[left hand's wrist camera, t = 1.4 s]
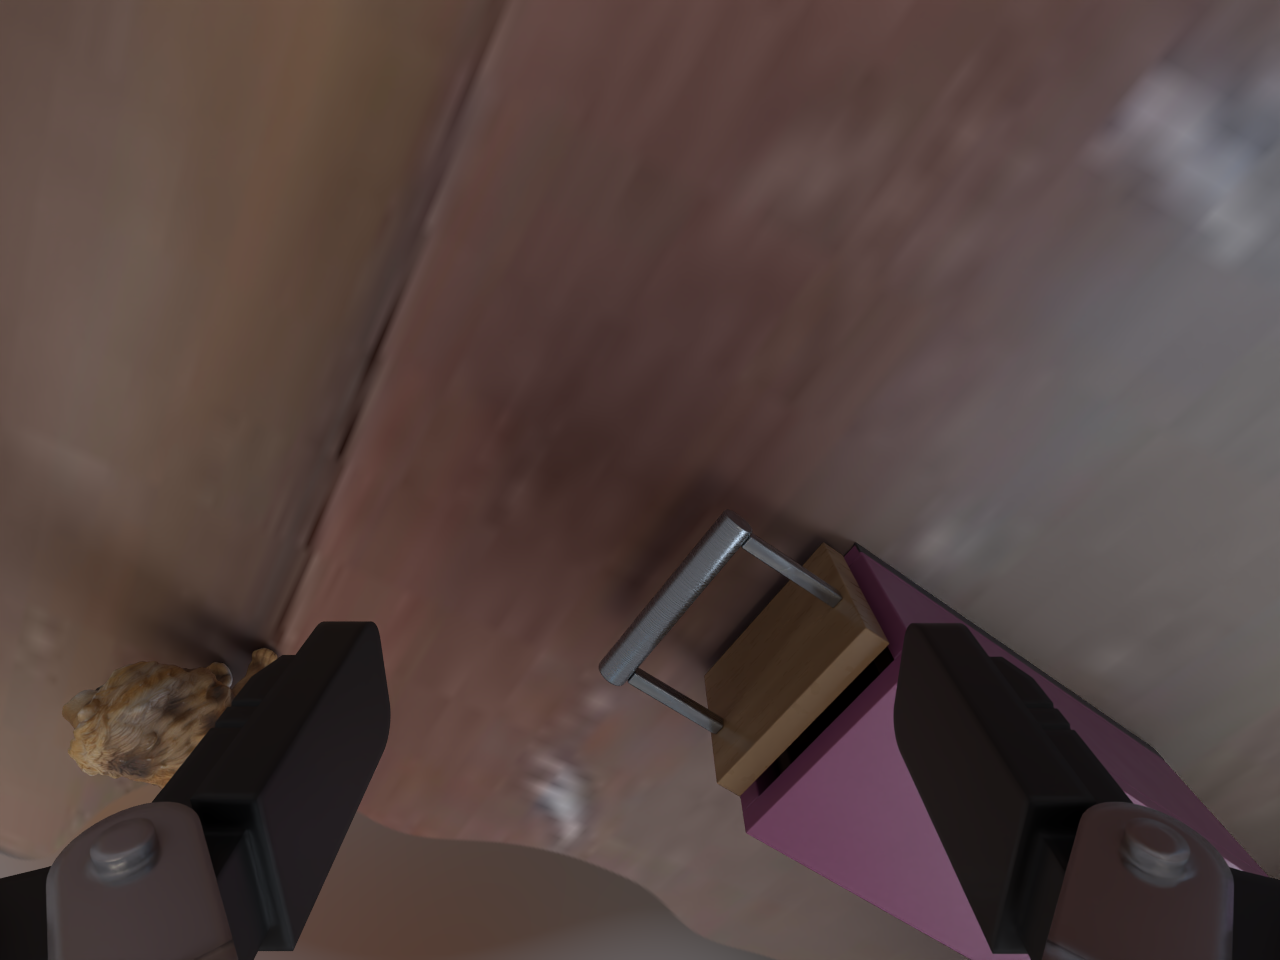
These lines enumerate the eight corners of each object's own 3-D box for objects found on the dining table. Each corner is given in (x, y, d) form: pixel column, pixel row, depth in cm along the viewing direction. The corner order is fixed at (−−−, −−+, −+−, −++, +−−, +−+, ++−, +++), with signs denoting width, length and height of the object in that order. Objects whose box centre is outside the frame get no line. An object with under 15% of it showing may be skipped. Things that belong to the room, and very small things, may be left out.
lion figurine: (147, 607, 37) (1, 731, 28) (248, 585, 36) (129, 705, 28) (269, 829, 42) (175, 989, 34) (358, 813, 42) (286, 971, 33)
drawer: (602, 613, 36) (591, 712, 29) (717, 469, 33) (735, 541, 26) (988, 849, 41) (1054, 978, 34) (1115, 741, 38) (1214, 858, 32)
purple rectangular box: (722, 688, 39) (745, 833, 30) (855, 542, 36) (922, 656, 27) (1013, 865, 43) (1105, 1036, 34) (1153, 748, 40) (1294, 903, 31)
